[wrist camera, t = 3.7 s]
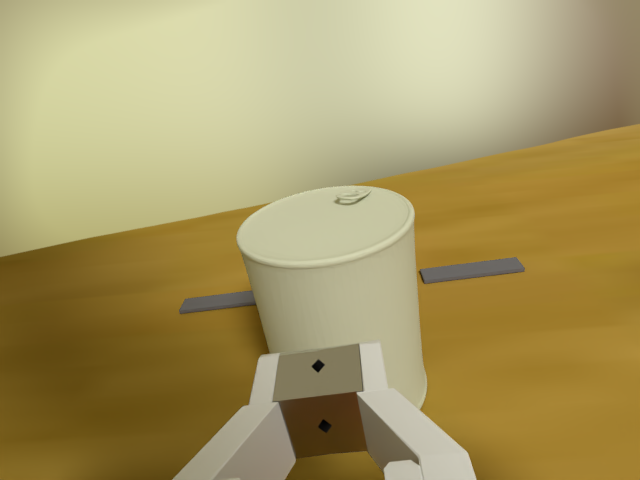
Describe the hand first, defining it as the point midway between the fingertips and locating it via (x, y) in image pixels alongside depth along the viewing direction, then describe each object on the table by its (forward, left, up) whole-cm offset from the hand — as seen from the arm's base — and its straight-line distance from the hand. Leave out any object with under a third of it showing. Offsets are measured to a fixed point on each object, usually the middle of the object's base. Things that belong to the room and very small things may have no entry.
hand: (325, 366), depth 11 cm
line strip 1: (-11, +23, -13) cm, 29 cm away
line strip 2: (+10, +23, -13) cm, 28 cm away
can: (0, +12, -13) cm, 18 cm away
